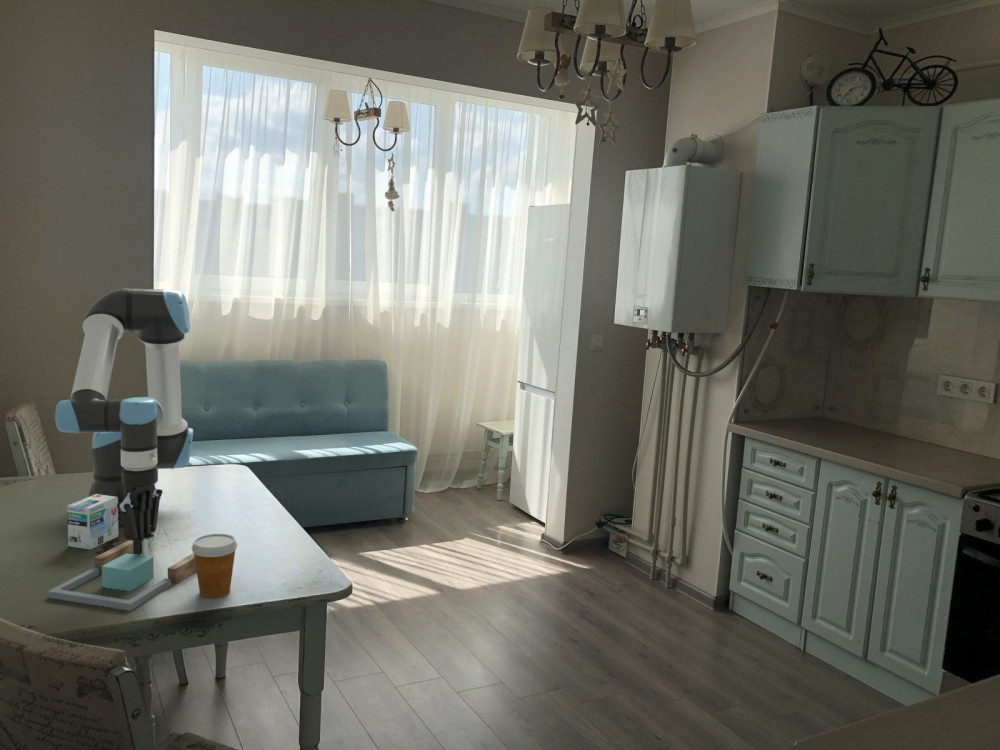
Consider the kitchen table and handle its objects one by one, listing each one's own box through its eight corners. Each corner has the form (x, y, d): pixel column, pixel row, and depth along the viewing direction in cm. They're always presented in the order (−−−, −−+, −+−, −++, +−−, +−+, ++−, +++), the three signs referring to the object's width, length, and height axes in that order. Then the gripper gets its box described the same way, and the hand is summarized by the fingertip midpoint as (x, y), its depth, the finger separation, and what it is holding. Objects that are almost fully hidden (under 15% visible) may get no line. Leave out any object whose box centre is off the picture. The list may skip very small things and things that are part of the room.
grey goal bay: (93, 573, 180) (93, 567, 179) (171, 585, 176) (170, 579, 175) (48, 597, 167) (47, 591, 166) (130, 611, 162) (130, 604, 162)
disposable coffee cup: (192, 604, 167) (192, 550, 165) (191, 586, 176) (190, 535, 174) (239, 598, 171) (239, 545, 169) (235, 581, 179) (235, 531, 178)
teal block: (126, 573, 181) (126, 553, 180) (153, 578, 179) (153, 557, 179) (102, 587, 173) (101, 566, 172) (130, 592, 172) (129, 570, 171)
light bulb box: (90, 550, 193) (89, 508, 192) (67, 547, 195) (65, 505, 193) (119, 536, 204) (118, 496, 202) (97, 533, 205) (96, 493, 203)
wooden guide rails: (135, 550, 194) (135, 537, 194) (211, 561, 190) (211, 547, 189) (94, 571, 181) (94, 557, 180) (175, 584, 176) (175, 569, 176)
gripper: (135, 475, 170) (137, 578, 173) (172, 461, 183) (173, 557, 186) (105, 472, 172) (107, 574, 175) (143, 458, 184) (145, 553, 188)
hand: (141, 565), depth 181 cm, fingers closed
